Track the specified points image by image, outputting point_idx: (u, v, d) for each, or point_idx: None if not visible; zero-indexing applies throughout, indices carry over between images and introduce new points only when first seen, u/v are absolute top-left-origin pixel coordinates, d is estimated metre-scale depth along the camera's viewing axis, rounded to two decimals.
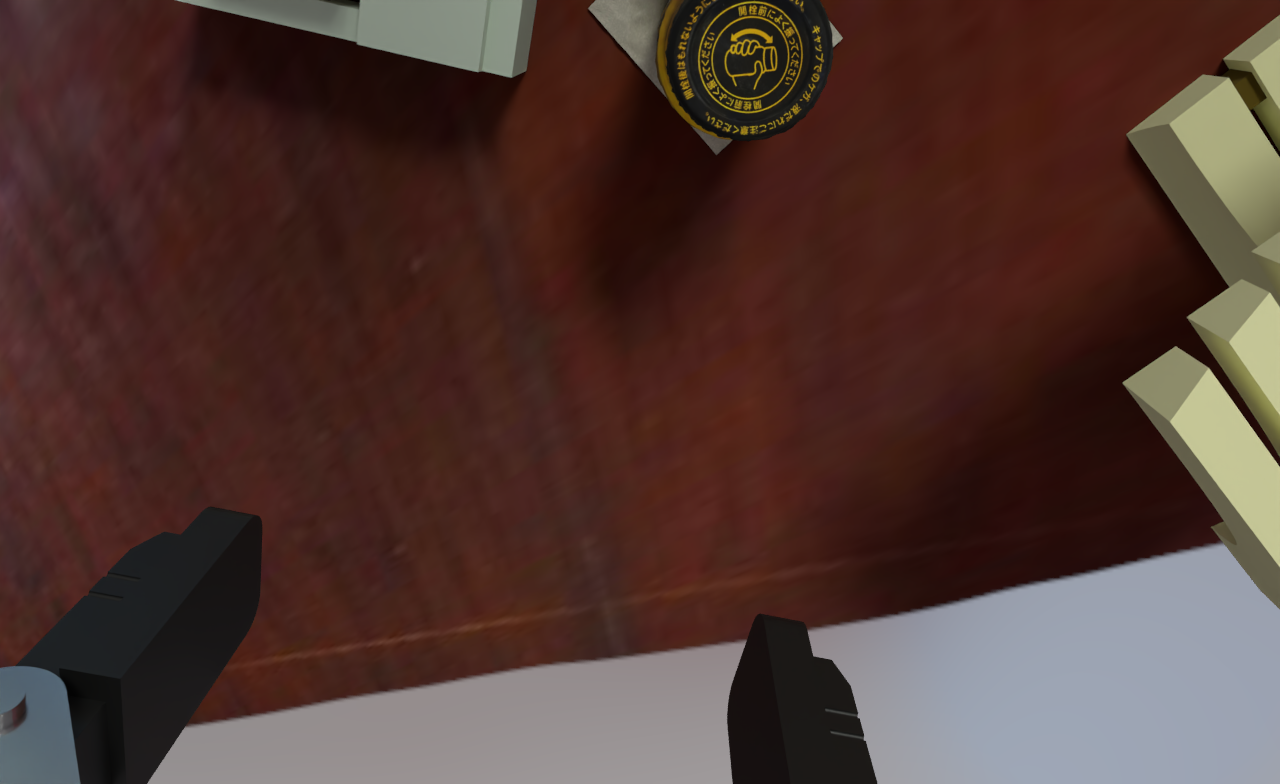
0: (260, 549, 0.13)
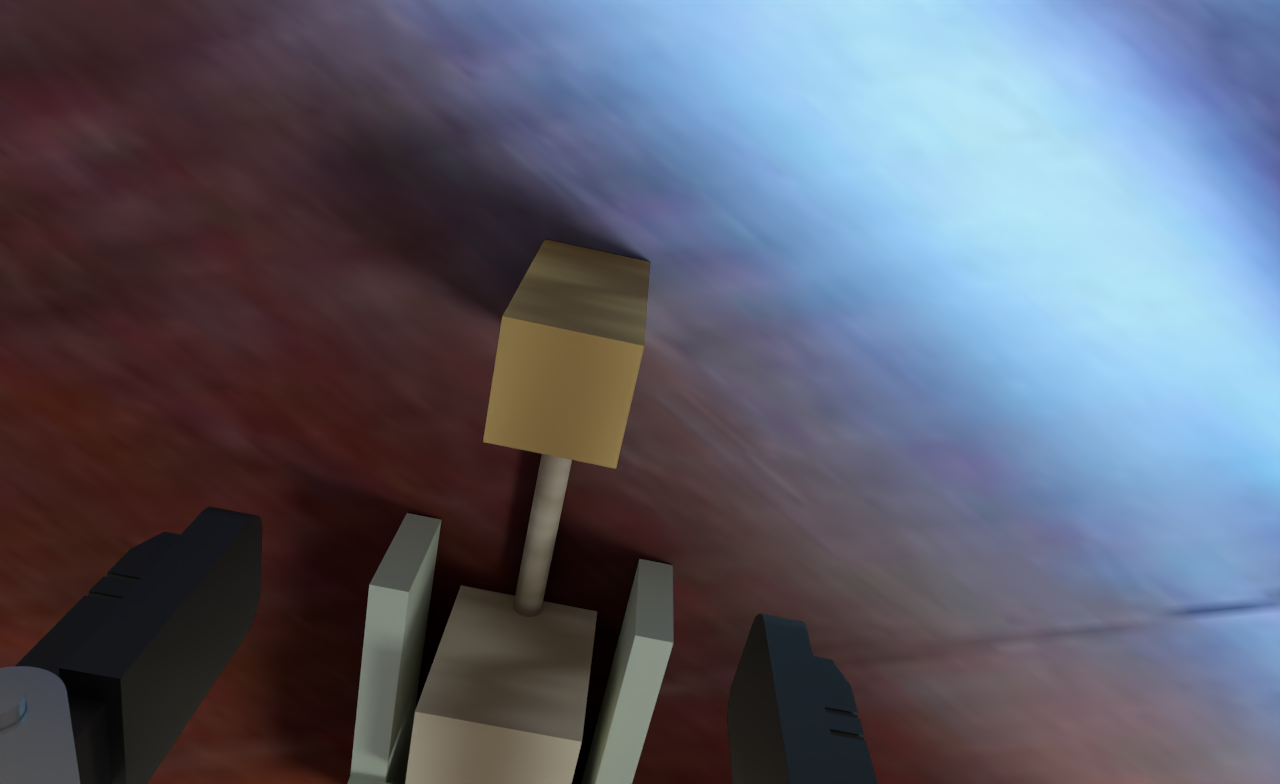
0: (260, 549, 0.13)
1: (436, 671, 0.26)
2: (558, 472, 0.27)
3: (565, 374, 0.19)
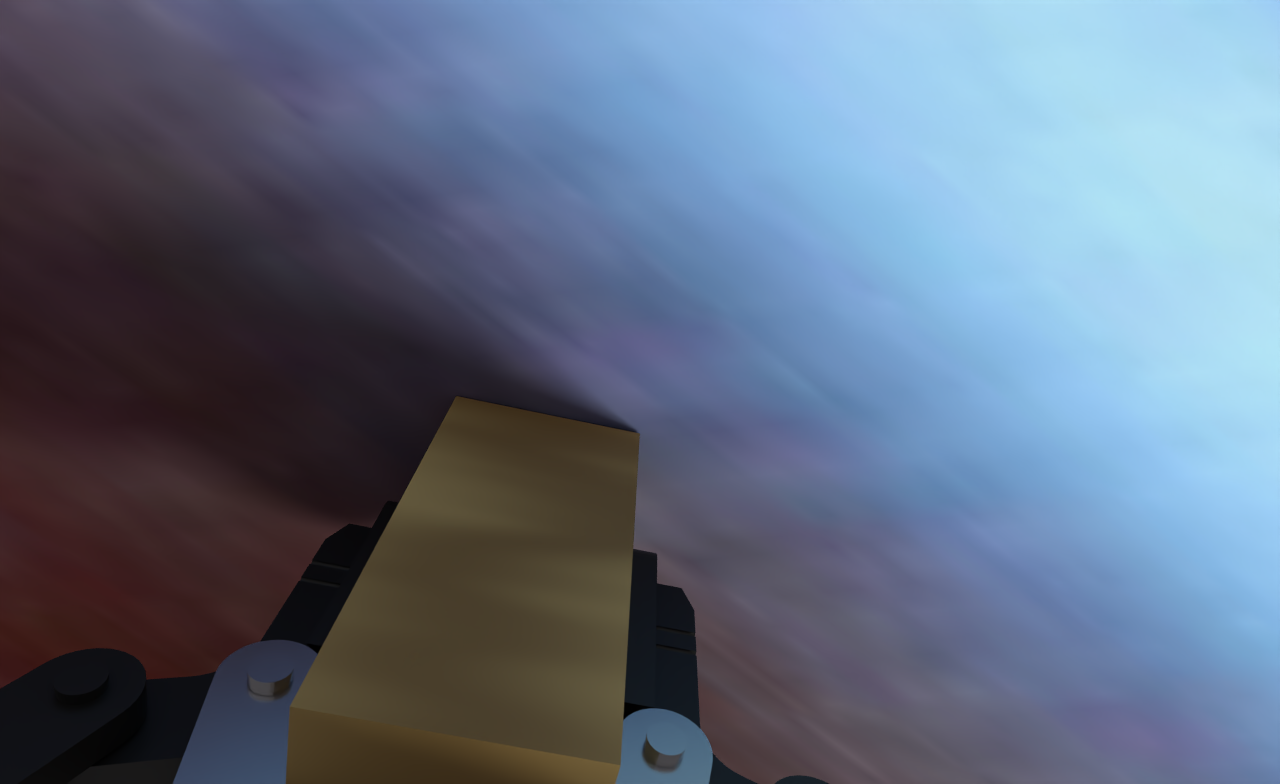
0: None
1: None
2: None
3: None
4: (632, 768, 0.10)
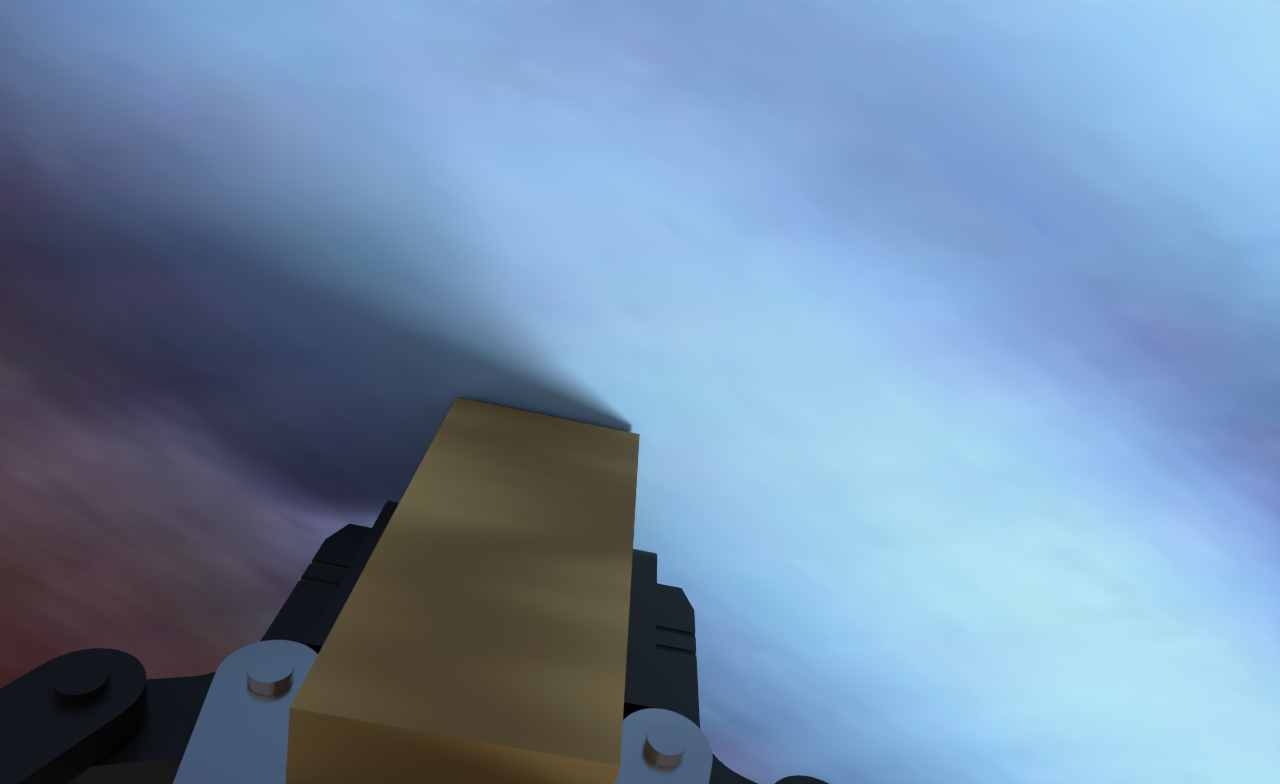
0: None
1: None
2: None
3: None
4: (632, 768, 0.10)
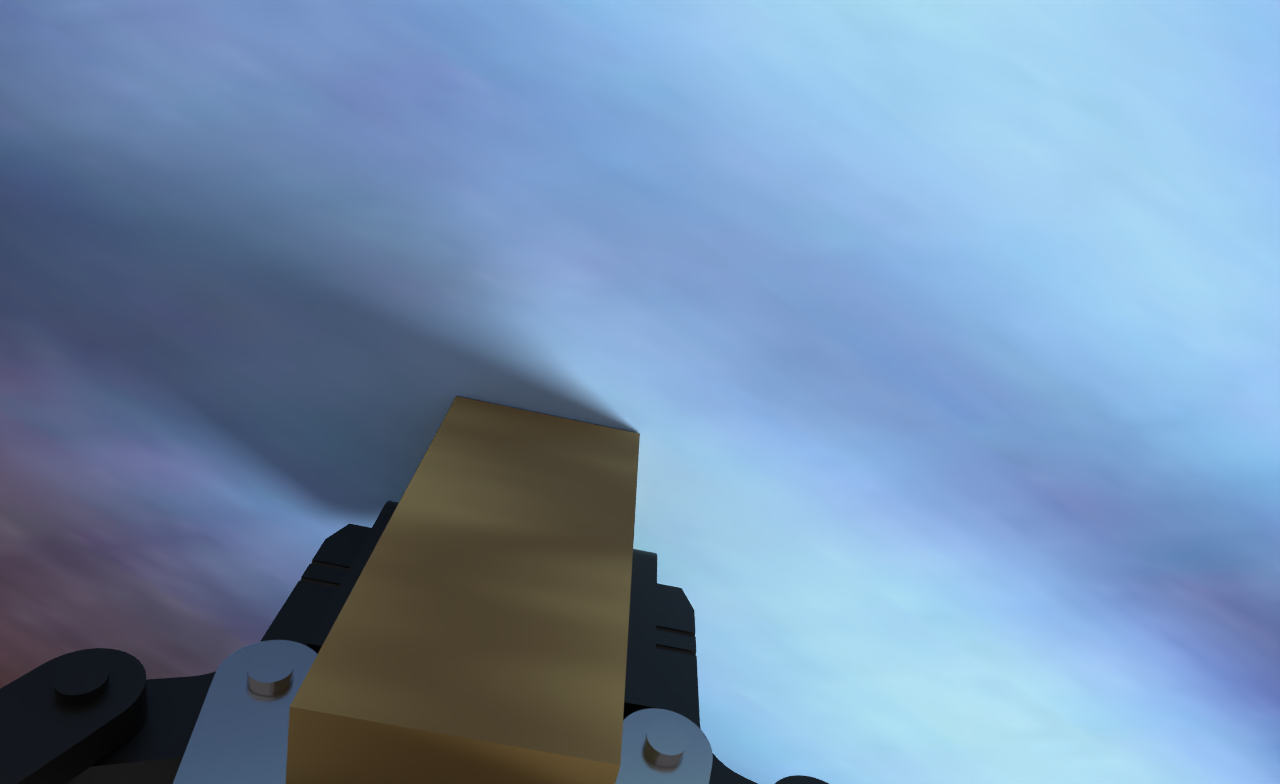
0: None
1: None
2: None
3: None
4: (632, 768, 0.10)
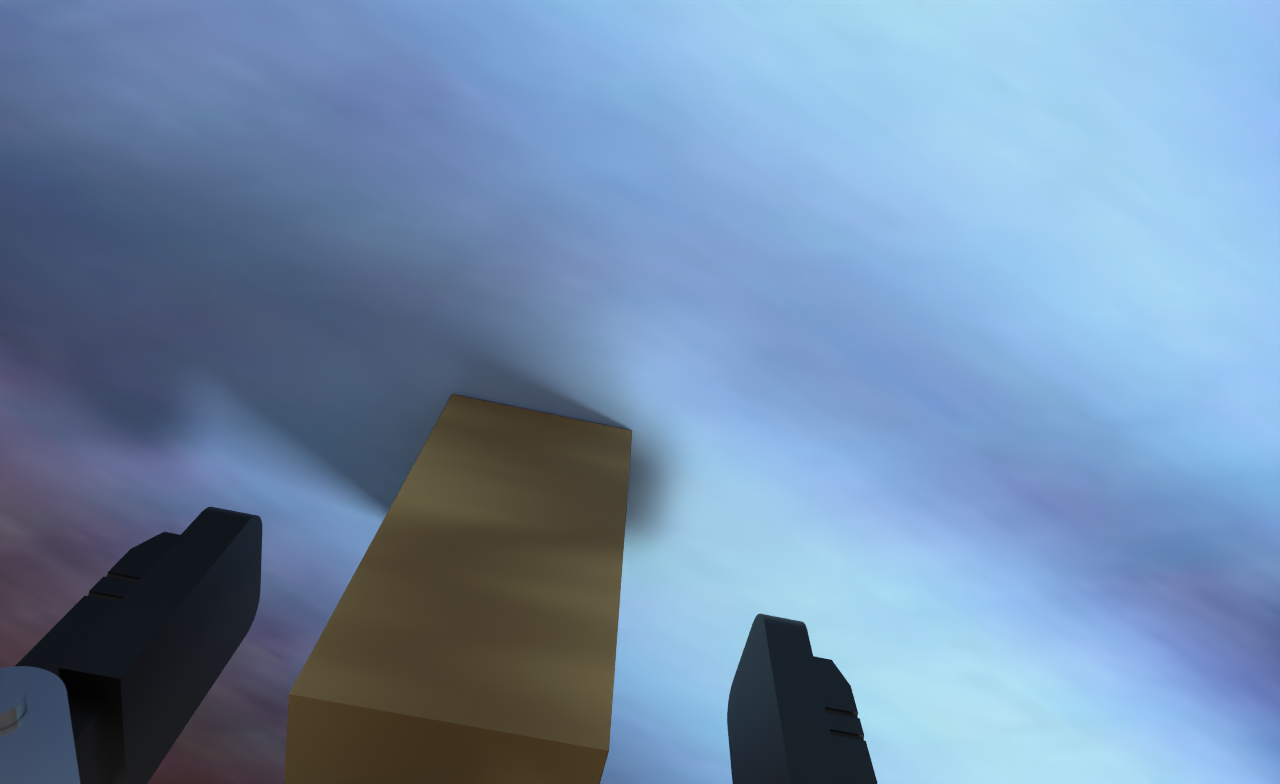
0: (260, 549, 0.13)
1: None
2: None
3: None
4: None
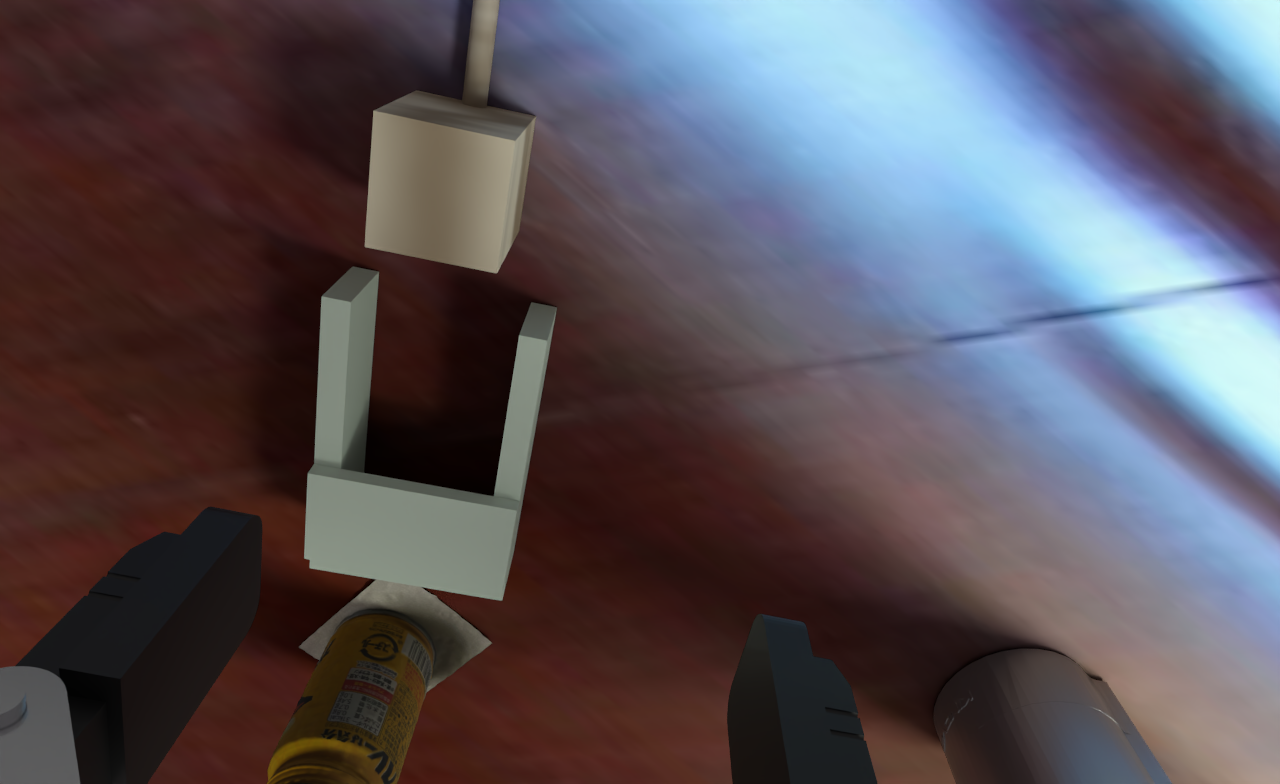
0: (260, 549, 0.13)
1: (392, 105, 0.31)
2: None
3: None
4: None
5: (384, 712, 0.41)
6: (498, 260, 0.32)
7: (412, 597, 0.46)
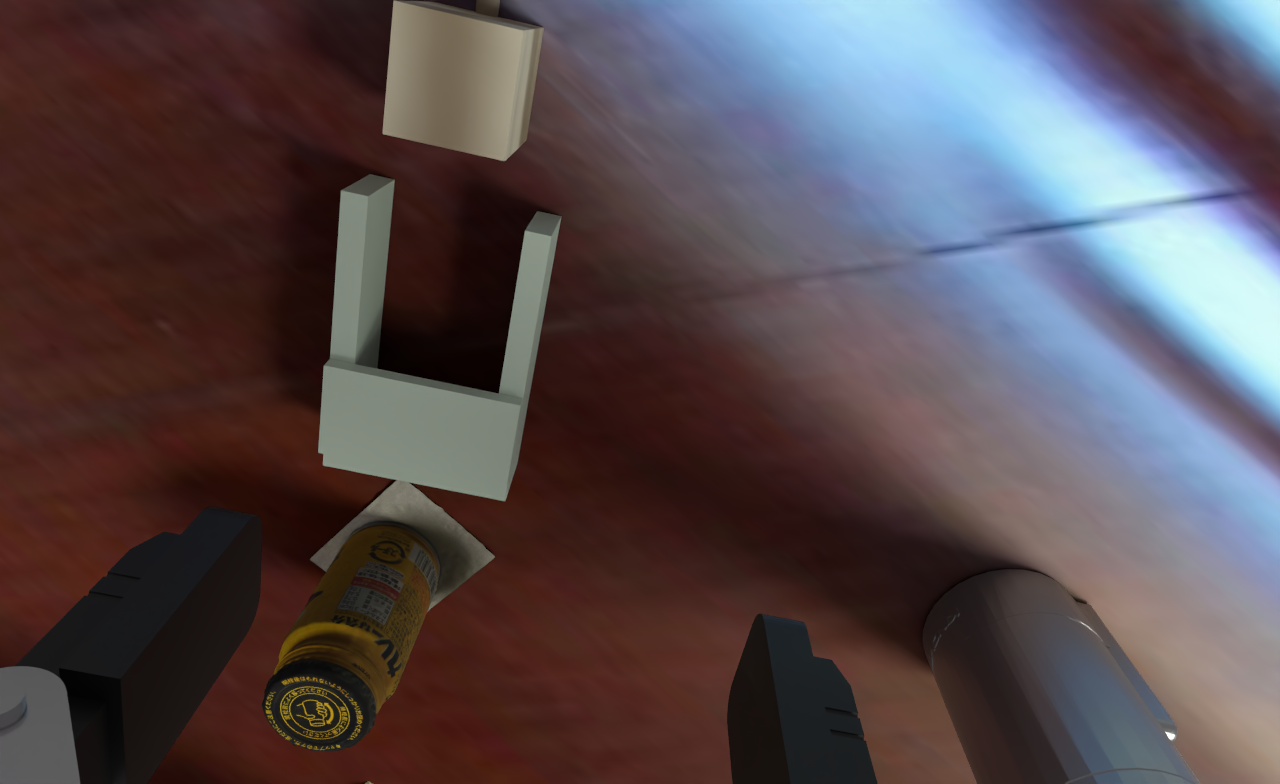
0: (260, 549, 0.13)
1: (411, 1, 0.33)
2: None
3: None
4: None
5: (391, 606, 0.43)
6: (506, 148, 0.34)
7: (419, 508, 0.48)
